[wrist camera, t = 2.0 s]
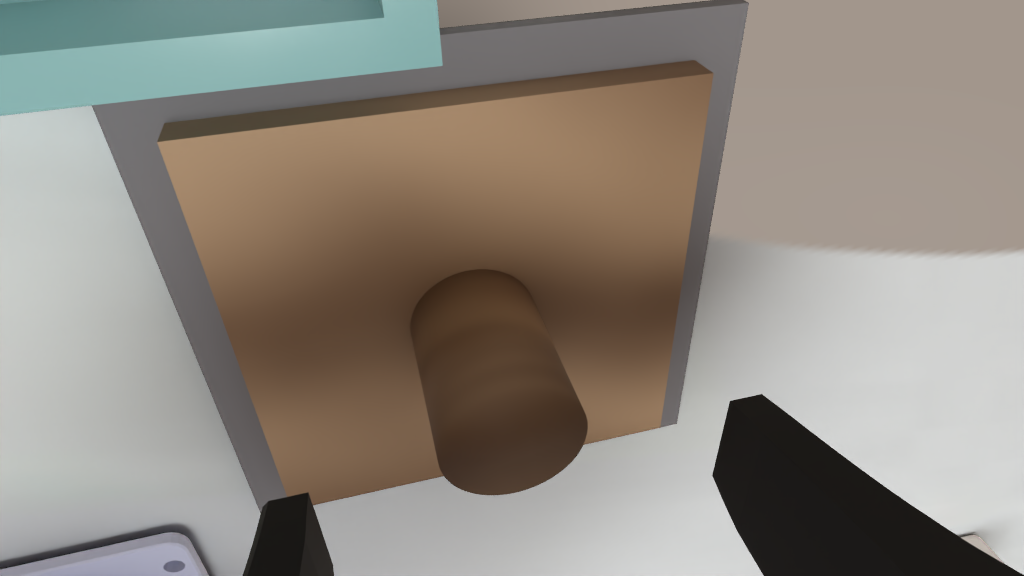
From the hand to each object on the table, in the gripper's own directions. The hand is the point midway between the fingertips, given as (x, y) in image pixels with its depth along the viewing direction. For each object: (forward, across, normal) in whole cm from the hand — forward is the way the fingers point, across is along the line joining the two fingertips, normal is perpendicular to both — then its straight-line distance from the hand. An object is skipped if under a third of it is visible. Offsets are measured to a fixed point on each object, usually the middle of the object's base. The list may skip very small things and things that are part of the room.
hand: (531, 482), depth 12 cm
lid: (+5, 0, 0) cm, 5 cm away
